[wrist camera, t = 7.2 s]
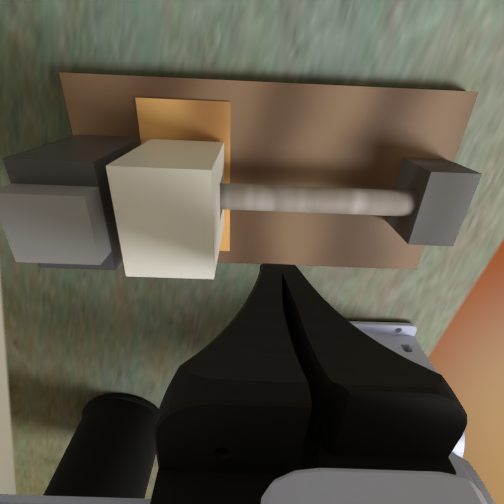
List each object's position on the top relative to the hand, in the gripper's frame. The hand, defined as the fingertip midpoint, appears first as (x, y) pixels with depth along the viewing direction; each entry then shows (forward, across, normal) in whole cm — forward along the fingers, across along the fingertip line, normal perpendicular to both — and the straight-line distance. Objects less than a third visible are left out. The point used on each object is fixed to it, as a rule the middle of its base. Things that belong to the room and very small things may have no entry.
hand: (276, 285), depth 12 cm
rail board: (+9, 0, -2) cm, 9 cm away
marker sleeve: (+8, +5, -1) cm, 9 cm away
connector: (+9, +9, -1) cm, 13 cm away
